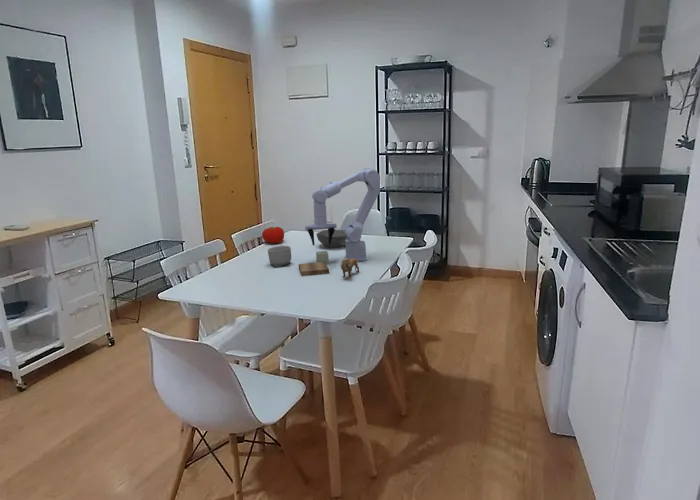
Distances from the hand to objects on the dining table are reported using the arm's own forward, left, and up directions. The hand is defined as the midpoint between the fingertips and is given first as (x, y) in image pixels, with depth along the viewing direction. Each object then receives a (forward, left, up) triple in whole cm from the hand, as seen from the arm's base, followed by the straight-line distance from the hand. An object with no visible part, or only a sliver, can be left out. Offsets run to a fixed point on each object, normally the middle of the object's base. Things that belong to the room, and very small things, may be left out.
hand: (321, 244), depth 215 cm
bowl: (-11, -29, -9) cm, 32 cm away
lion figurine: (-8, +24, -9) cm, 27 cm away
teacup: (+19, -5, -9) cm, 22 cm away
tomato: (+20, -49, -9) cm, 54 cm away
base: (+6, +12, -9) cm, 16 cm away
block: (0, 0, -9) cm, 9 cm away
